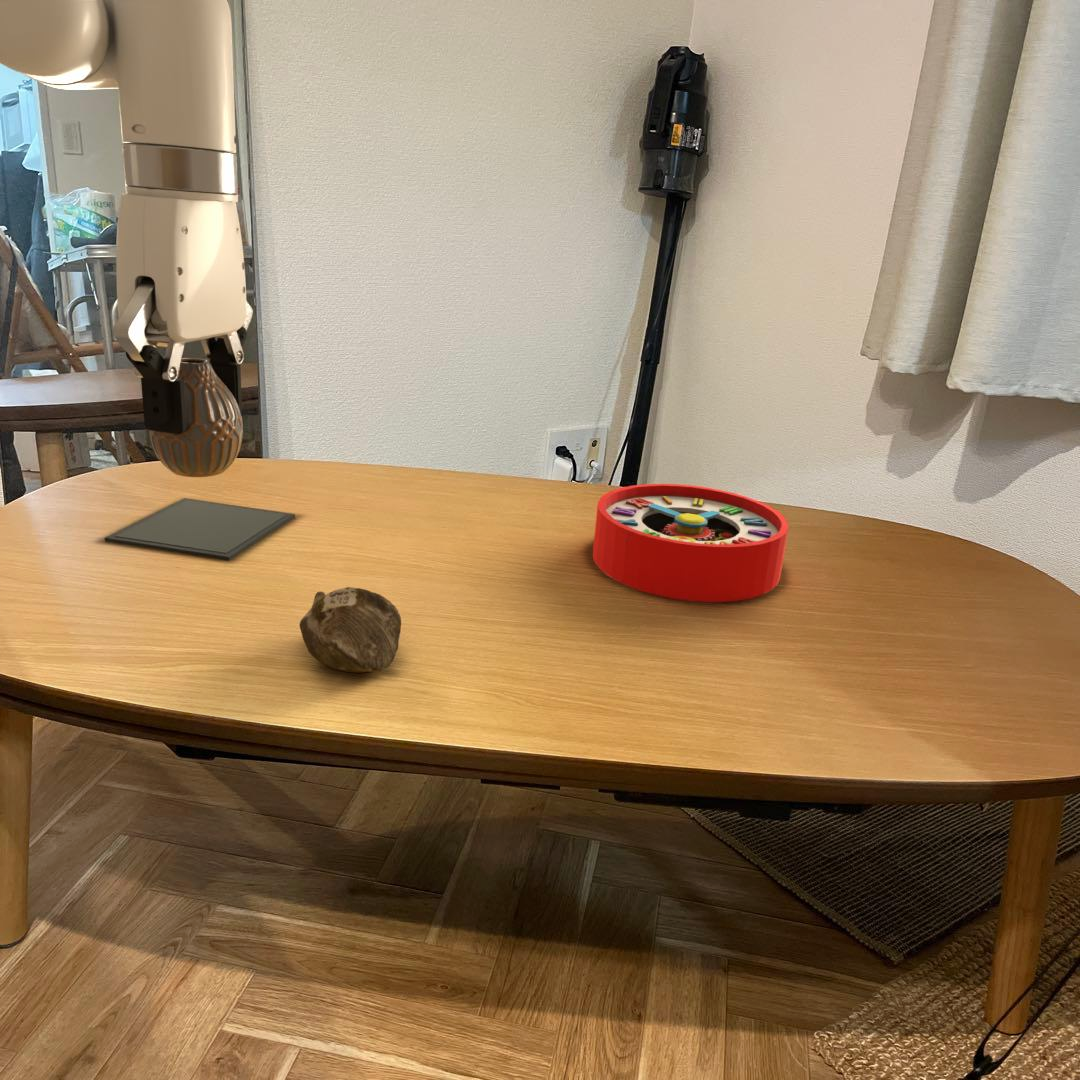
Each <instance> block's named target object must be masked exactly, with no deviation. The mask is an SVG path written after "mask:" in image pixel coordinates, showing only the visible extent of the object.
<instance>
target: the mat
mask: <svg viewBox="0 0 1080 1080" xmlns="http://www.w3.org/2000/svg"><path fill="white" fill-rule="evenodd" d="M295 518H296V514H295V513H291V512H290V513H289V512H283V511H276V510H269V509H261V508H256V507H249V506H240V505H234V504H229V503H227V504H226V503H220V502H213V501H207V500H200V499H199V500H198V499H192V498H186V497H185V498H182V499H180V500H178V501H176V502H173V503H172V504H170V505H168V506H166V507H163V508H162V509H159V510H158V511H156V512H154V513H152V514H150V515H147V516H146V517H144V518H142V519H139V520H138V521H135V522H134V523H132V524H129V525H128V526H125V527H124V528H121V529H119V530H117V531H116V532H114V533H111V534H109V535H107V536H105V537H104V542H107V543H114V544H121V545H127V546H132V547H138V548H145V549H152V550H158V551H164V552H172V553H177V554H183V555H190V556H197V557H203V558H208V559H209V558H210V559H215V560H216V559H217V560H223V561H231V560H232V559H233V558H236V557H237V556H239V555H240V554H242V553H243V552H244V551H246V550H247V549H250V548H251V547H252V546H254V545H255V544H257V543H258V542H260V541H261V540H263V539H265V538H266V537H268V536H270V535H271V534H272V533H273V532H275V531H277V530H278V529H280V528H281V527H283V526H284V525H286V524H287V523H289V522H291V521H292V520H293V519H295Z"/></svg>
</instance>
